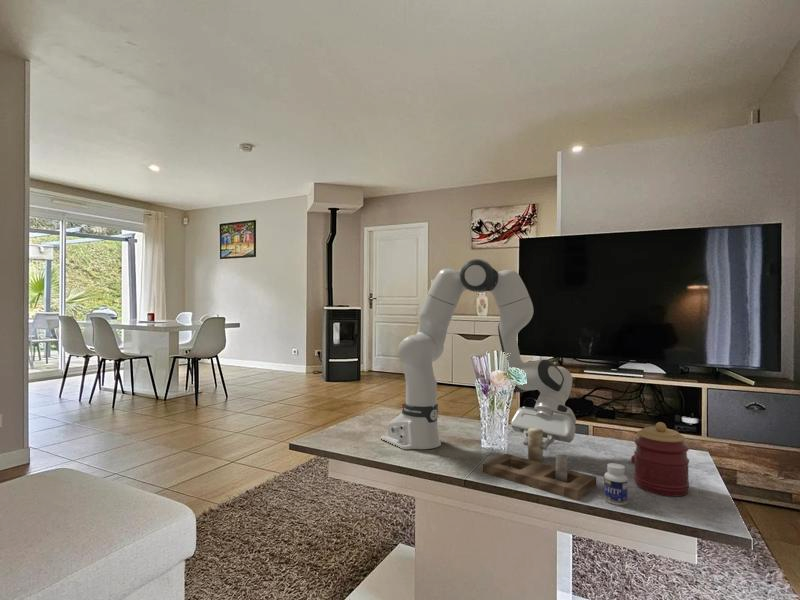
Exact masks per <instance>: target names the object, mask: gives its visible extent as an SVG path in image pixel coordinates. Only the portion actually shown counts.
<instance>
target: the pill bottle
mask: <svg viewBox="0 0 800 600" xmlns="http://www.w3.org/2000/svg"><path fill="white" fill-rule="evenodd" d="M606 466H607V467H606V470H607V471H606V472H605V473H604V474H603V475H604V478H603V479H604V481H603V485H604V487H603V498H604V500H605V502H607V503H609V504H613V505H615V506H625V505H626V504H628V477H627V475H625V473H626V472H625V471H626V469H625V467H626V466H625V465H623V464H621V463H620V464H619V463H615V462H611V463H607V465H606Z"/></svg>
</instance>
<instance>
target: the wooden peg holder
mask: <svg viewBox="0 0 800 600" xmlns="http://www.w3.org/2000/svg"><path fill="white" fill-rule="evenodd" d="M481 470H482V473H485V474H487V475H491V476H495V477H498V478H501V479H505V480H508V481H511V482H515V483H518V484H521V485H524V486H527V487H531V488H535V489H538V490H541V491H544V492H548V493H551V494H555V495H558V496H562V497H565V498H568V499H571V500H574V501H579V500H580V499H581V498H583V497H584V496H586V495H587V494H588V493H590V492H591V491H592V490H594V489H595V488H596V487H597V476H595V475H592V474H587V473H583V472H580V471H575V470H572V469H569V468H568V456H567V455H566V454H560V453H559V454H555V465H551V464H547V463H544V462H543V463H540V462H536V461H532V460H528V458H523V457H520V456H516V455H512V454H509V453H508V454H507V453H503V454H502V455H498V456H496V457H494V458H492V459H490V460H488V461H485V462H483V463H482V469H481Z"/></svg>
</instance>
